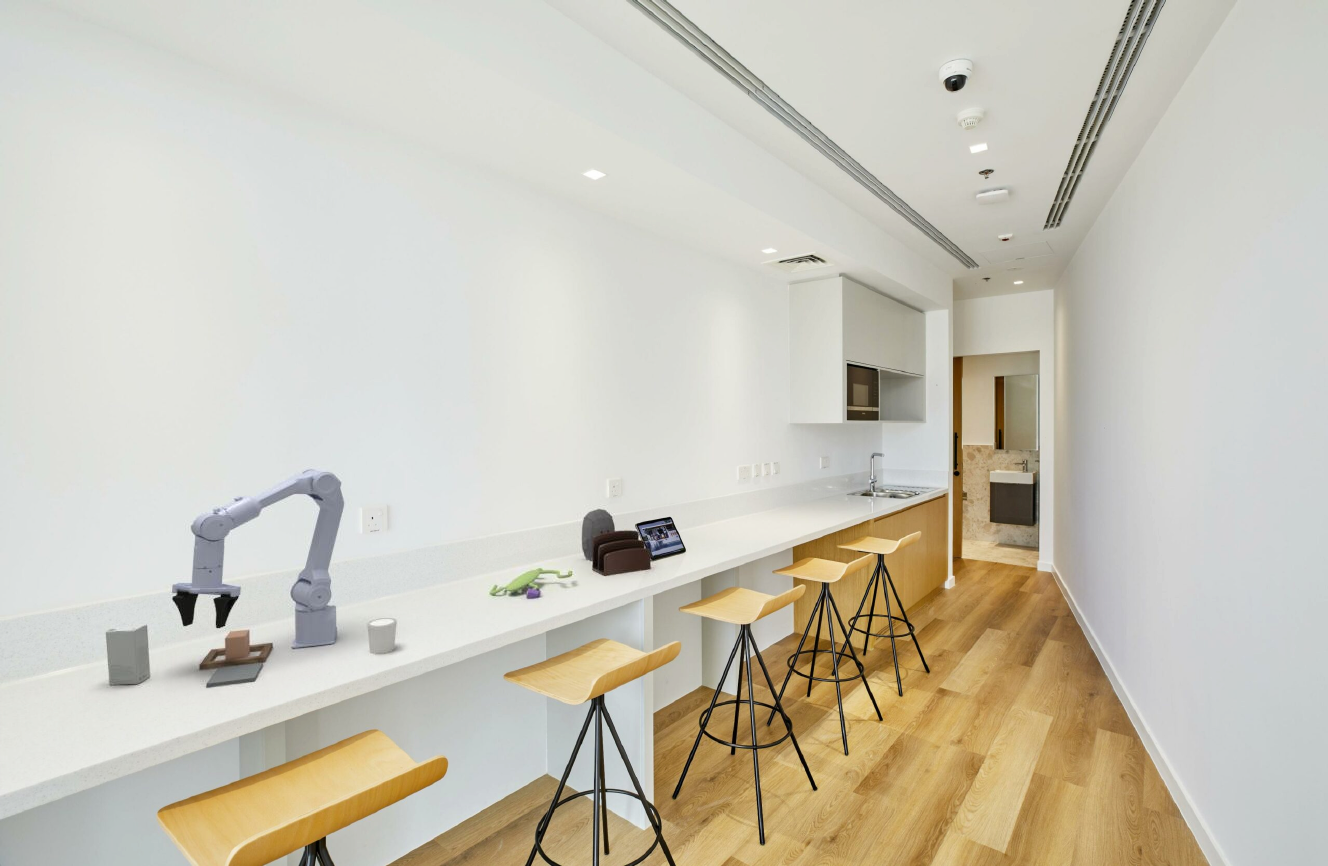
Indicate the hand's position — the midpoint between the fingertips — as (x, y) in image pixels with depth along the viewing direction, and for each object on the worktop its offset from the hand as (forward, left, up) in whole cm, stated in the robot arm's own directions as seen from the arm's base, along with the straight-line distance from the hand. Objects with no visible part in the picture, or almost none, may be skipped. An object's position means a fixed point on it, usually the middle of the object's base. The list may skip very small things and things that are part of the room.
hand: (204, 626), depth 149 cm
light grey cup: (-37, 0, -11) cm, 39 cm away
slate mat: (-7, +6, -10) cm, 14 cm away
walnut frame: (-5, -6, -10) cm, 13 cm away
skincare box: (+14, +1, -11) cm, 17 cm away
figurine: (-83, -42, -11) cm, 93 cm away
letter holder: (-118, -55, -11) cm, 131 cm away
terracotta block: (-5, -6, -10) cm, 13 cm away
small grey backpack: (-115, -75, -11) cm, 138 cm away
